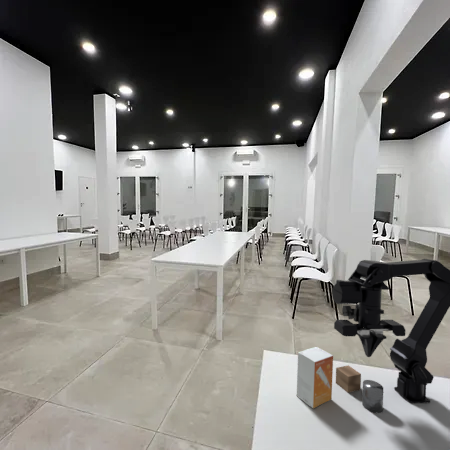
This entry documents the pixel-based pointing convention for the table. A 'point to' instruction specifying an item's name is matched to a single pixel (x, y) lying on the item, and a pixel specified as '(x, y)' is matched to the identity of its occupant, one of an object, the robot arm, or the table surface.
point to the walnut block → (348, 379)
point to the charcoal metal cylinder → (372, 396)
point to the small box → (314, 376)
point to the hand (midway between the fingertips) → (368, 356)
